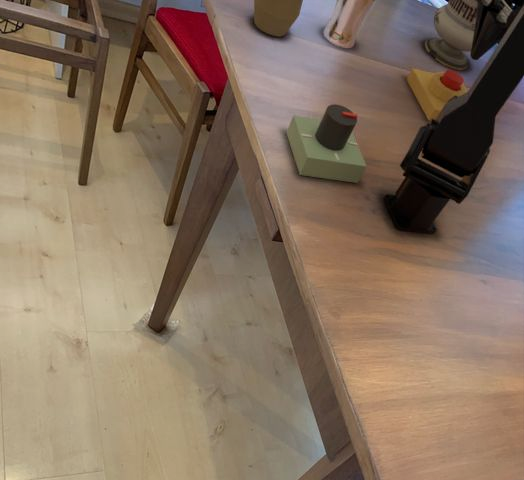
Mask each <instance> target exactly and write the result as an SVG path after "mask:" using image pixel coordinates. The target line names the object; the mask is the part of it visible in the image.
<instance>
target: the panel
mask: <svg viewBox="0 0 524 480" xmlns="http://www.w3.org/2000/svg"><path fill="white" fill-rule="evenodd" d="M321 120H322V119H317V118H311V117H306V116H302V115H301V116H300V115H295V114H293V115H292V117H291V120H290V123H289V124H288V128H287V130H286V136H287V140H288V143H289V146H290V149H291V152H292V155H293V158H294V162H295V164H296V167H297V171H298V174H299V175H300V176H304V177H312V178H319V179H324V180H325V179H326V180H333V181H338V182H339V181H340V182H347V183H354V184H358V183H359V182H360V179H361V178H362V176H363V174H364V172H365V171H366V169H367V167H368V166H367V163H366V161H365V158H364V156H363V153H362V152H361V149H360V147H359V144H358V142H357V139H356V137H355V135H354V132H353V131H352V133H351V135H350V137H349V139H348V141H347V143H346V145H345V147H344V148H343V149H342V150H331V149H328V148H326V147H324V146H323V145H321V144H320V143H319V142H318V140H317V139H316V136H315V134H316V131H317V129H318V127H319V125H320V122H321Z"/></svg>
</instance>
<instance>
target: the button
mask: <svg viewBox="0 0 524 480" xmlns="http://www.w3.org/2000/svg"><path fill="white" fill-rule="evenodd" d="M443 73H444V75H443V77H442V78H441V80H440V81H441V83H442V84H444V85H445V86H446V87H447V88H449V89H451V90H455V91H458V90H459V88H460V87H461V85H462V84H464V82H465V79H464V77H463V76H462V75H461V74H459V73H458V72H457V71H454V70H451V69H447V70H445V71H444V72H443Z"/></svg>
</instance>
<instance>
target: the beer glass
mask: <svg viewBox="0 0 524 480" xmlns="http://www.w3.org/2000/svg"><path fill="white" fill-rule="evenodd" d="M375 2H376V0H336V2H335V7H334V9H333V13H332V15H331V17H330V19H329V20H328V22H327V24H326V26H325V28H324V30H323V33H322V34H323V36H324V38H325V39H326V40H327V42H330V43H331V44H333V45H334V46H336V47H338V48H343V49H351V48H353V47H354V45H355V43H356V38H357V36H358V32H359V29H360V27H361V24H362V23H363V21H364V19H365V18H366V16H367V14H368V13H369V11H370V10H371V8H372V6H373V5H374V4H375Z"/></svg>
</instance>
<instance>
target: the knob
mask: <svg viewBox="0 0 524 480" xmlns="http://www.w3.org/2000/svg"><path fill="white" fill-rule="evenodd" d="M320 120H321V122H320V125H319V127H318V129H317V131H316V134H315V136H316V139H317V140H318V142H319V143H320V144H321V145H323V146H324V147H326V148H328V149H331V150H342V149H343V148H344V147H345V145H346V143H347V141H348V139H349V137H350V135H351V133H352V132H353V131H354V129H355V127H356V125H357V123H358V114H357V113H354V112H353V111H352V110H350V109H349V108H347V107H346V106H344V105H340V104H336V103H335V104H333V103H331V104H329V105H328V106H327V107H326V109H325V111H324V113H323V115H322V118H321V119H320Z"/></svg>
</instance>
